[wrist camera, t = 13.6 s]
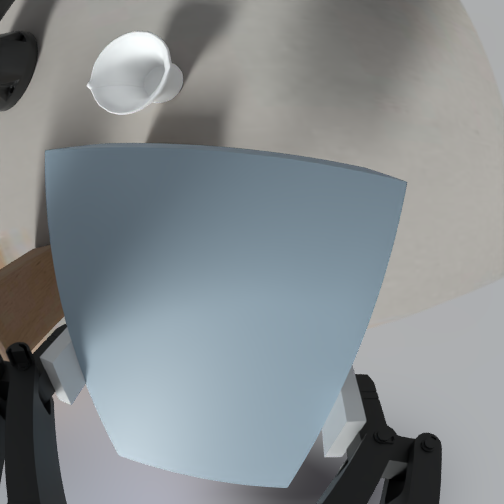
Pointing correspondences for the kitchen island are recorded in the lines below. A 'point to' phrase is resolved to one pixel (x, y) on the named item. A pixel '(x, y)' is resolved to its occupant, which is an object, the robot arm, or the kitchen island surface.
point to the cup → (134, 73)
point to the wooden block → (28, 299)
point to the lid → (216, 296)
